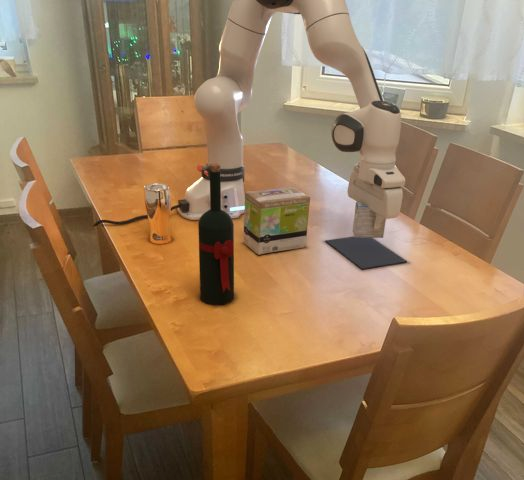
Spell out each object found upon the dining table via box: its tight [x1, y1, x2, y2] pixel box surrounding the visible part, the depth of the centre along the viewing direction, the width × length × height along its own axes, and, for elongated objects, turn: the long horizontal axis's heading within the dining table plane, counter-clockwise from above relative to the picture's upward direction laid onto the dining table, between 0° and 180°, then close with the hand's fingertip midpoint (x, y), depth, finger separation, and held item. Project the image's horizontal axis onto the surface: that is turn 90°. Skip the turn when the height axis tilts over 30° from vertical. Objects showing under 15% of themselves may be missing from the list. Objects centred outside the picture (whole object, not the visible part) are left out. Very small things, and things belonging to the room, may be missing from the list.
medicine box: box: [352, 201, 387, 239], centre depth 146 cm, size 8×4×9 cm, turn 89°
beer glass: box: [143, 182, 173, 245], centre depth 149 cm, size 7×7×15 cm
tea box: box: [242, 186, 311, 256], centre depth 148 cm, size 15×10×15 cm, turn 117°
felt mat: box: [325, 236, 408, 271], centre depth 151 cm, size 14×20×1 cm
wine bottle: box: [197, 164, 235, 306], centre depth 117 cm, size 8×10×30 cm
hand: (368, 223), depth 146 cm, fingers closed on medicine box, 5 cm apart
